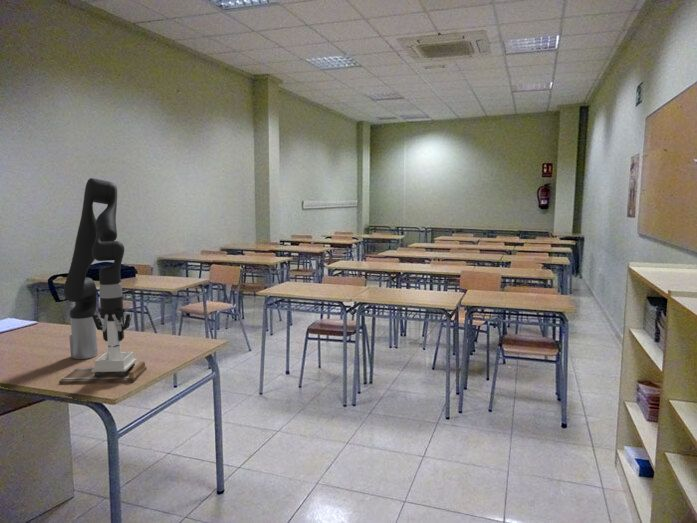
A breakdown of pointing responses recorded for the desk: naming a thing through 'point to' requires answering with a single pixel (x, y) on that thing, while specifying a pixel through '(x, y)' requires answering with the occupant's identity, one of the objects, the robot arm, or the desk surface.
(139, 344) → the desk surface
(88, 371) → the track
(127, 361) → the white open tray
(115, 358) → the tube
